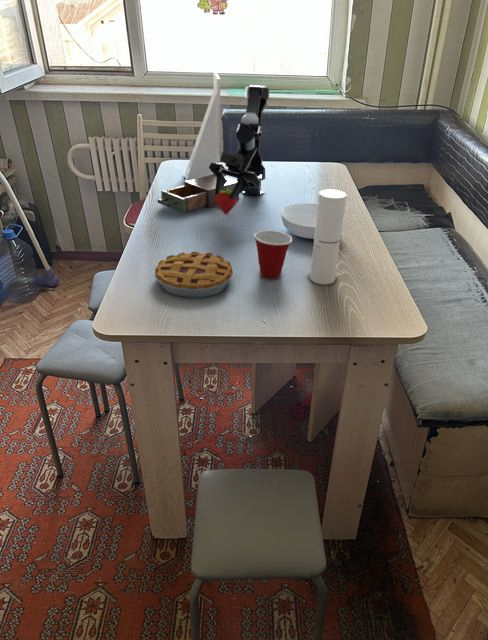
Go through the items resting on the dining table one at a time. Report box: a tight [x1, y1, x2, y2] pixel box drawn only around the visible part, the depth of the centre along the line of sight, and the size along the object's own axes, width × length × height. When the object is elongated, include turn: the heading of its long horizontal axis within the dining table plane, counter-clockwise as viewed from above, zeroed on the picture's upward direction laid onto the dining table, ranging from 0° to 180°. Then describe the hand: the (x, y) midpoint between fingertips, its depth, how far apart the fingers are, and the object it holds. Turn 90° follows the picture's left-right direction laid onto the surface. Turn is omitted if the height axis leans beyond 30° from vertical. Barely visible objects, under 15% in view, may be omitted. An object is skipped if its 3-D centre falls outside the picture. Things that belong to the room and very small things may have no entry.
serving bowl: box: [280, 202, 318, 240], centre depth 179 cm, size 21×21×7 cm
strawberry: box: [215, 187, 238, 215], centre depth 182 cm, size 6×8×10 cm
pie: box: [154, 251, 235, 298], centre depth 147 cm, size 22×22×5 cm
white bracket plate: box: [183, 70, 221, 182], centre depth 211 cm, size 20×14×40 cm
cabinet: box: [184, 174, 240, 209], centre depth 202 cm, size 16×13×7 cm
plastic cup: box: [253, 230, 293, 280], centre depth 151 cm, size 11×11×12 cm
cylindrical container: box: [309, 188, 347, 285], centre depth 146 cm, size 7×7×25 cm
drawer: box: [157, 184, 208, 214], centre depth 194 cm, size 20×12×5 cm, turn 138°
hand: (223, 196), depth 180 cm, fingers closed on strawberry, 6 cm apart
